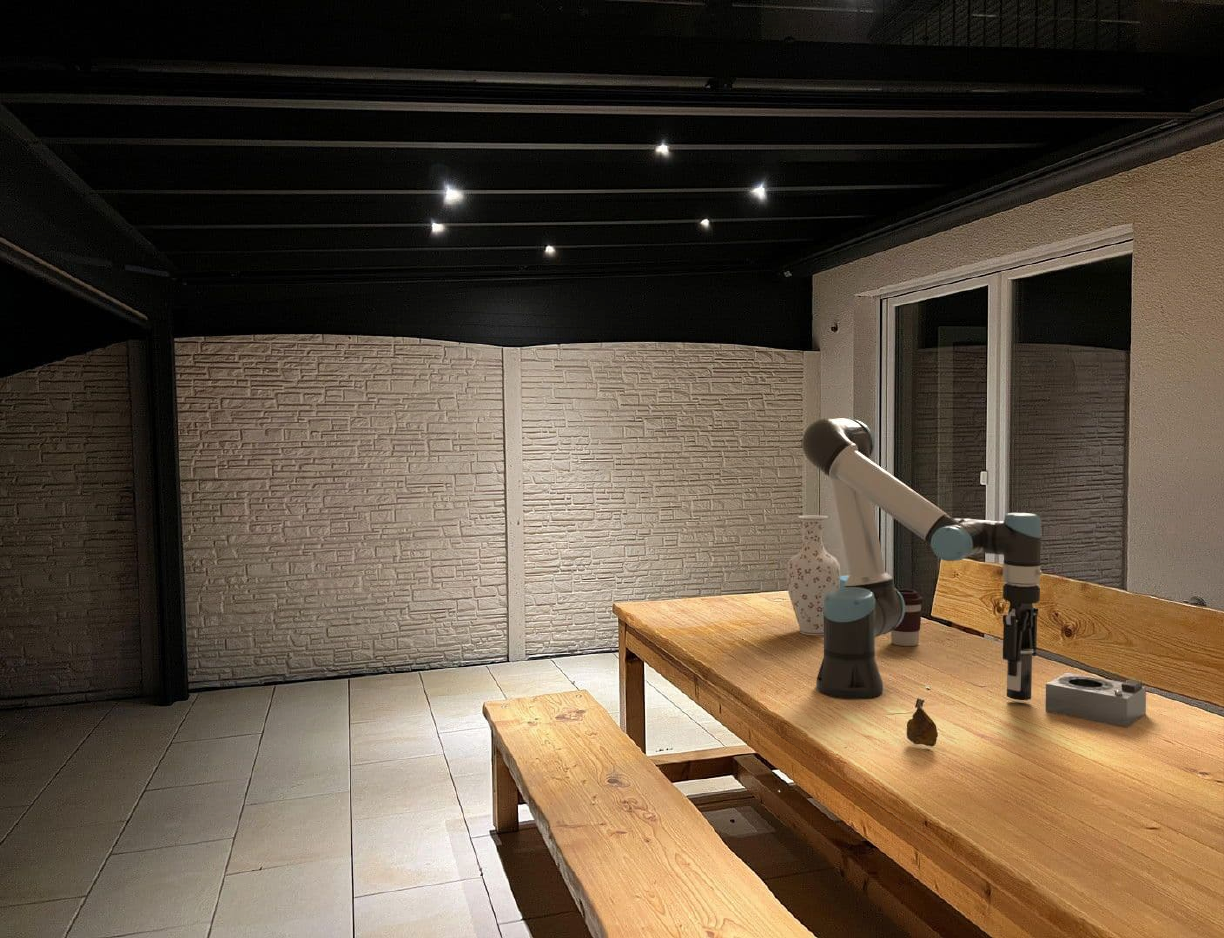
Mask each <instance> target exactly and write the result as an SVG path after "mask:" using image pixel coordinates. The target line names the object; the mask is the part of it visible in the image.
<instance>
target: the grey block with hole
mask: <svg viewBox="0 0 1224 938" xmlns="http://www.w3.org/2000/svg"><path fill="white" fill-rule="evenodd" d="M1045 712H1048V713H1054V714H1058V715H1063V716H1068V717H1072V718H1078V719H1083V720H1087V721H1092V722H1097V723H1102V724H1105V725H1112V726H1116V727H1121V728H1126V729H1127V728H1129V727H1131V725H1133V724H1135V723H1136V722H1137V721H1138V720H1140V719H1141V718H1143V717H1144V716H1146V715H1147V713H1146V712H1147V686H1146V685H1143V681H1142V680H1136V679H1131V678H1130V679H1127V680H1126V681H1123V682H1122V681H1118V680H1113V679H1112V680H1111V679H1105V678H1101V677H1095V676H1089V675H1083V674H1077V673H1071V672H1066V673H1064V674H1061V675H1059V676H1058V677H1055V678H1054V679H1052V680H1050V681H1047V682H1046V683H1045Z"/></svg>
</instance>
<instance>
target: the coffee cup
mask: <svg viewBox="0 0 1224 938" xmlns="http://www.w3.org/2000/svg"><path fill="white" fill-rule="evenodd" d="M896 590H897V591H899V592H900V594H901V595H902V597H903V599H904V603H905V614H904V617H903V619H902V621H901V623H900V624H899V625H898V626H897V627H896V628H894V629H893V630H892V631H891V632H890V636H891V637H890V638H891V639H890V640H891V643H892V644H893V645H895V646H900V647H914V646H917V645H918V644H919V639H920V631H921V624H922V622H921V621H922V605H923V604H924V597H923V596H921V595H919V592H918V591H917V590H914V589H906V588H905V589H904V588H903V589H896Z"/></svg>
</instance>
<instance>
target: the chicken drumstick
mask: <svg viewBox="0 0 1224 938" xmlns="http://www.w3.org/2000/svg"><path fill="white" fill-rule="evenodd" d="M924 704H925V699H921V698H918V697H917V699H916V703H915V706H914V707H915V709H916V710H915V712H914V713H913V714H912V716H911V717H912V718H910V719H908V721H907V722H906V738H907V739H908V740H909V741H910V742H911V743H913V745H924V746H927V747H934V746H935V745H936V744H937V739H938V737H939V735H938V734H939V733H938V729H937V724H936V723H935V722H934V720H933V719H932V718H931V717H930V715H928V713H927V712H926V711H925V709H923V707H924V706H923V705H924Z"/></svg>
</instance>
